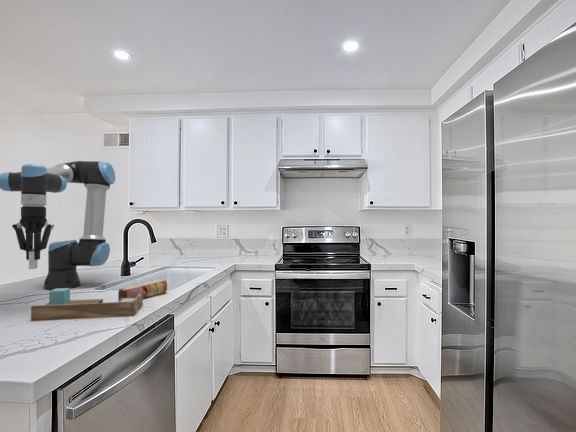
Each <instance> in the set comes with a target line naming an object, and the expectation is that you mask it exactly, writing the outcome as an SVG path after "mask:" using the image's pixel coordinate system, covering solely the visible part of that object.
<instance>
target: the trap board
mask: <svg viewBox="0 0 576 432" xmlns="http://www.w3.org/2000/svg"><path fill="white" fill-rule="evenodd" d="M143 305H144V298H143V292H141V293H139V295H138V296H137V297H136V298H121V299H120V300H119V299H118V301H117V302H116V301H115V302H114V301H113V302H104V299H103V298H93V299H92V298H91V299H90V298H87V299H70V301H69V302H67V303H65V304H57V305H49V302H48V303H46V304H44V305H42V304H41V305H38V304H37V305H32V306H30V321H31V322H34V321H35V322H36V321H37V322H38V321H39V322H40V321H54V320H55V321H56V320H76V319H79V320H80V319H97V318H113V317H114V318H116V317H117V318H119V317H130V316H131V317H134V316H135V315H136V314H137V312H138V311H139V310H140V308H141V307H142V306H143Z"/></svg>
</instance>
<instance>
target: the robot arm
mask: <svg viewBox="0 0 576 432" xmlns="http://www.w3.org/2000/svg"><path fill="white" fill-rule="evenodd" d="M115 182H116V172H115V169H114V167H113V165H112V164H111V163H110V162H109V161H108V162H107V161H89V160H88V161H87V160H85V161H84V160H76V161H71V162H64V163H59V164H56V165H55V166H51V167H46V166H44V165H41V164H23V165H22V166H21V171H19V172H17V171H16V172H10V171H9V172H1V173H0V190H2V191H5V192H20V205H21V207H20V217H21V218H20V219H19V221H18V222H17V223H16V224H12V228H13V230H14V231H15V235H16V238H17V242H18V246H19V250H21V251H24V252H25V258H26V261H28V270H35V269H38V265H39V264H38V260H40V259H41V252H42V250H45V249H47V248H48V249H47V250H48V251H47V253H48V254H47V258H48V259H47V260H48V261H47V262H48V265H47V266H48V267H47V268H48V271H47V274H46V276H45V277H46V278H45V280H44V282H43V290H48V291H51V290H54V289H56V288H70V289H74V288H78V287H80V286H81V279H80V276H79V273H78V271H77V267H96V266H103V265H105V263H106V262H107V261H108V259H109V257H110V254H111V253H110V252H111V248H110V247H111V246H110V244H109V243H108V242H107V240H106V238H105V237H104V225H105V224H104V222H105V211H106V201H107V199H106V197H107V191H109V189H111V185H114V184H115ZM69 183H70V184H71V183H72V184H73V183H74V184H83V187H85V188H86V190H87V191H86V197H85V198H86V199H85V209H84V210H85V212H84V224H83V234H82V236H81V237H80V238H78V240H79V241H78V240H77V239H70V240H69V239H68V240H62V241H61V240H60V241H55V242H51V243H50V244H48V243H49V239H50V235H51V233H52V232H51V231H52V230H53V228H54V227H55V225H54V224H52V223H49V222H48V220H47V193H53V194H55V193H61V192H64V191H65V190H66V188H67V184H69ZM23 228H24V229H23ZM43 228H44V231H43ZM42 231H43V234H42ZM47 246H48V247H47Z"/></svg>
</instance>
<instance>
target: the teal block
mask: <svg viewBox="0 0 576 432" xmlns="http://www.w3.org/2000/svg"><path fill="white" fill-rule="evenodd" d="M48 291H49V292H48V293H49V294H48V303H49V305H57V304H65V303H67V302H69V301H70V300H71V288H56V289H54V290H48Z"/></svg>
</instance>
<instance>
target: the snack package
mask: <svg viewBox="0 0 576 432" xmlns="http://www.w3.org/2000/svg"><path fill="white" fill-rule="evenodd" d="M167 290H168V282H167V281H166V279H162V278H159V279H154V280H150V281H147V282H142V283H138V284H134V285H130V286H125V287H121V288H119V290H118V295H117V296H118V298H117V299H118V301H119V300H120V299H121V298H136V297H137V296H138V295H139V293H141V292H143V299H146V298H150V297H154V296H159V295H163V294H165V293H166V292H167Z"/></svg>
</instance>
